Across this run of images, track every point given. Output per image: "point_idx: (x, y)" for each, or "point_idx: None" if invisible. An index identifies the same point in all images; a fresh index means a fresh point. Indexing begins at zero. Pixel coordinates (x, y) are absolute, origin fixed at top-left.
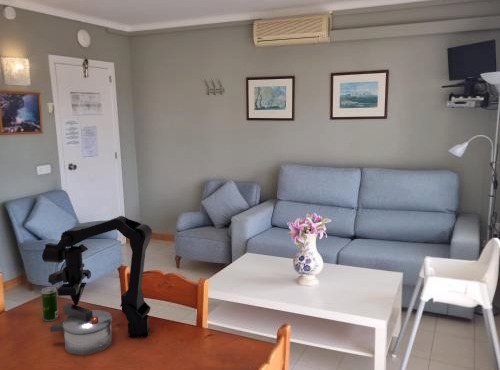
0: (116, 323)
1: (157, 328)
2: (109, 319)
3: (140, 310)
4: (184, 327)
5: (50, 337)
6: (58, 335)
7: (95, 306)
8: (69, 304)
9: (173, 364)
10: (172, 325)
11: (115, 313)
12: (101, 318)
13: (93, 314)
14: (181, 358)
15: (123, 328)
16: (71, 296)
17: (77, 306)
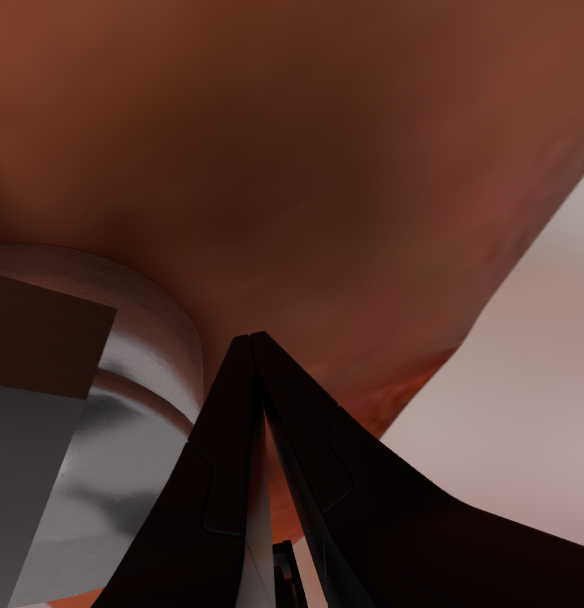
0: (315, 380)
1: (273, 500)
2: (78, 590)
3: (283, 562)
4: (284, 540)
5: (26, 31)
6: (94, 103)
7: (567, 182)
8: (26, 429)
9: (51, 601)
10: (297, 518)
11: (430, 331)
12: (74, 561)
13: (120, 505)
14: (94, 597)
15: (265, 422)
16: (177, 474)
17: (17, 531)
